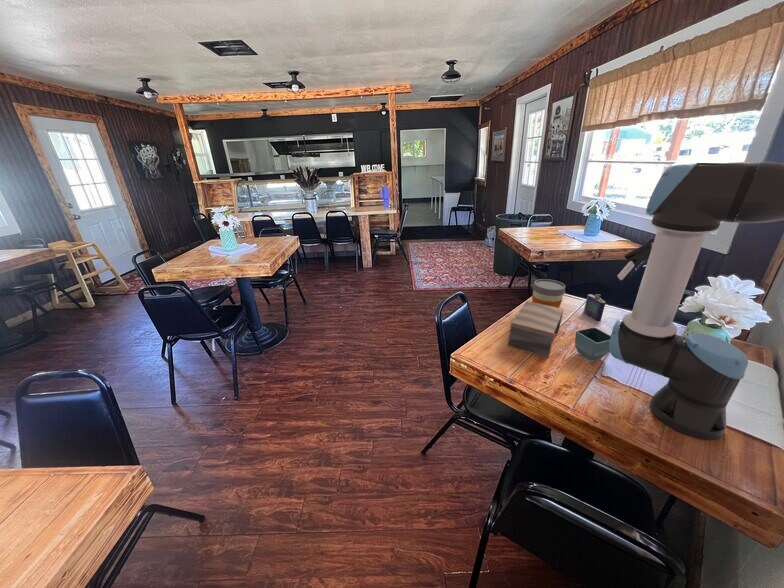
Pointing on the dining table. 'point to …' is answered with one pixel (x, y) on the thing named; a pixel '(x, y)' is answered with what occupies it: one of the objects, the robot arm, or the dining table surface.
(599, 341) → the flower pot
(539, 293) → the reusable coffee cup
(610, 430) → the dining table surface
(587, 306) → the flask
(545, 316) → the grey wooden block
